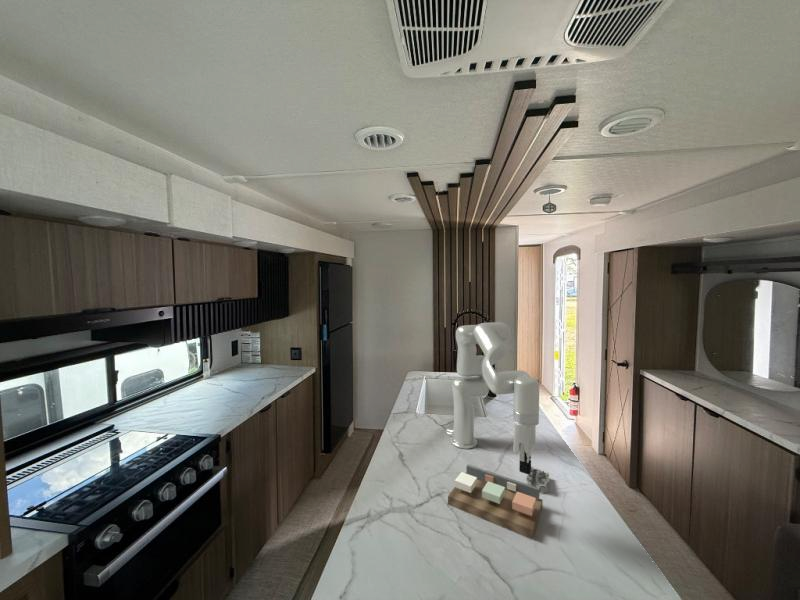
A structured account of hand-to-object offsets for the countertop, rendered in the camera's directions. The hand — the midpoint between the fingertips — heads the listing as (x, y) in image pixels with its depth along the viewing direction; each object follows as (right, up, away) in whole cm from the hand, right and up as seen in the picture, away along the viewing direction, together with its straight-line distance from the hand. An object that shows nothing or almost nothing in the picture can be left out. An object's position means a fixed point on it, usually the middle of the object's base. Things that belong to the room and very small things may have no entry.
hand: (525, 471), depth 104 cm
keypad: (-7, -16, +8) cm, 20 cm away
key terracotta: (0, -12, +1) cm, 12 cm away
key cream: (-17, -11, +12) cm, 24 cm away
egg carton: (+13, -16, +20) cm, 28 cm away
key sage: (-8, -12, +7) cm, 16 cm away
